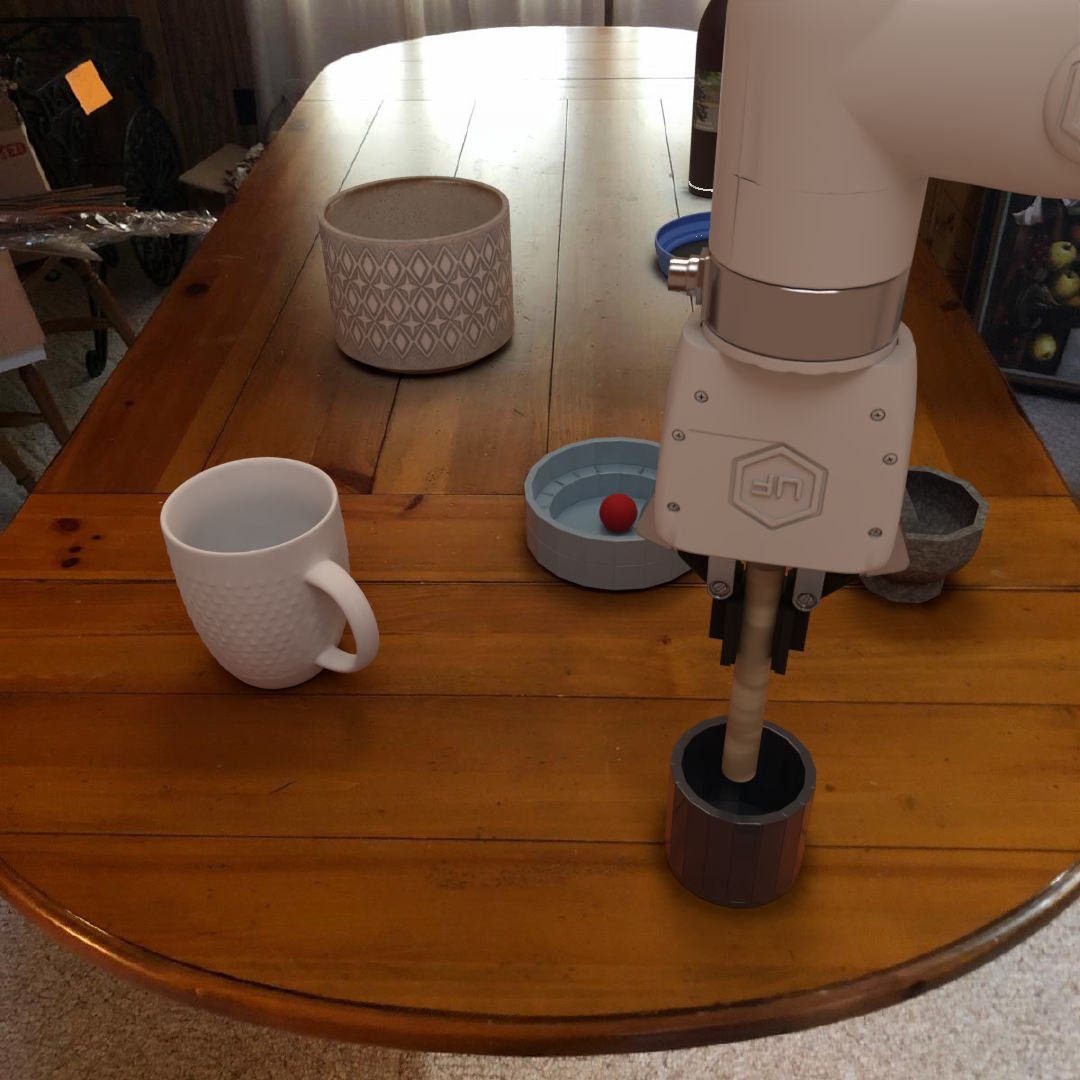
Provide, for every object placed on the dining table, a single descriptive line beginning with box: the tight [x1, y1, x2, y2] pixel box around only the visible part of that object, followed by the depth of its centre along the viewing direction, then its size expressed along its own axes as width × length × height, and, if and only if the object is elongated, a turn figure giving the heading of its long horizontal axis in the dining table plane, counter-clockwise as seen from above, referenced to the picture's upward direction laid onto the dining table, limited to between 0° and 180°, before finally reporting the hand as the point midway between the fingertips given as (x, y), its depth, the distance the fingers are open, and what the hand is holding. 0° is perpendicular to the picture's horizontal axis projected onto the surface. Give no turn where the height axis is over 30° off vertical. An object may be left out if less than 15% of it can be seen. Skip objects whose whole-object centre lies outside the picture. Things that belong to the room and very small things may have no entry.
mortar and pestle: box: [858, 465, 991, 604], centre depth 79 cm, size 11×9×12 cm
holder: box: [664, 714, 818, 909], centre depth 60 cm, size 8×8×7 cm
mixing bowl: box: [523, 436, 692, 591], centre depth 85 cm, size 14×14×5 cm
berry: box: [599, 493, 638, 532], centre depth 86 cm, size 3×3×3 cm
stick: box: [722, 561, 787, 782], centre depth 54 cm, size 2×2×14 cm
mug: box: [159, 456, 380, 690], centre depth 71 cm, size 15×11×13 cm
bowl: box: [653, 210, 711, 277], centre depth 128 cm, size 18×18×4 cm
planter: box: [316, 175, 515, 375], centre depth 111 cm, size 19×19×14 cm
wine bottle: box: [687, 0, 728, 199], centre depth 142 cm, size 7×7×30 cm
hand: (755, 649), depth 53 cm, fingers closed on stick, 1 cm apart
